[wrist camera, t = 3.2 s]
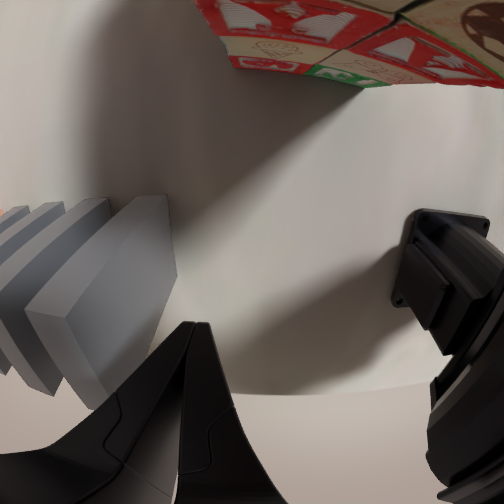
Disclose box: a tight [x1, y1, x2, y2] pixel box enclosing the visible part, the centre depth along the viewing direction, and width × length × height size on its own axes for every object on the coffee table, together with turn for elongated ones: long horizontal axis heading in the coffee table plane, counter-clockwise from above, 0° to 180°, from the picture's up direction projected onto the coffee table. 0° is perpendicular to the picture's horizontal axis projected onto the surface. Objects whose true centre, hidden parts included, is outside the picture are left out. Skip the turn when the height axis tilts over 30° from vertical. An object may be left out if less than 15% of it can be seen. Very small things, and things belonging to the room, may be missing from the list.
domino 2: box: [0, 197, 112, 396], centre depth 10 cm, size 2×5×9 cm, turn 179°
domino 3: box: [24, 194, 177, 411], centre depth 10 cm, size 2×5×9 cm, turn 179°
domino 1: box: [0, 201, 65, 375], centre depth 10 cm, size 2×5×9 cm, turn 179°
